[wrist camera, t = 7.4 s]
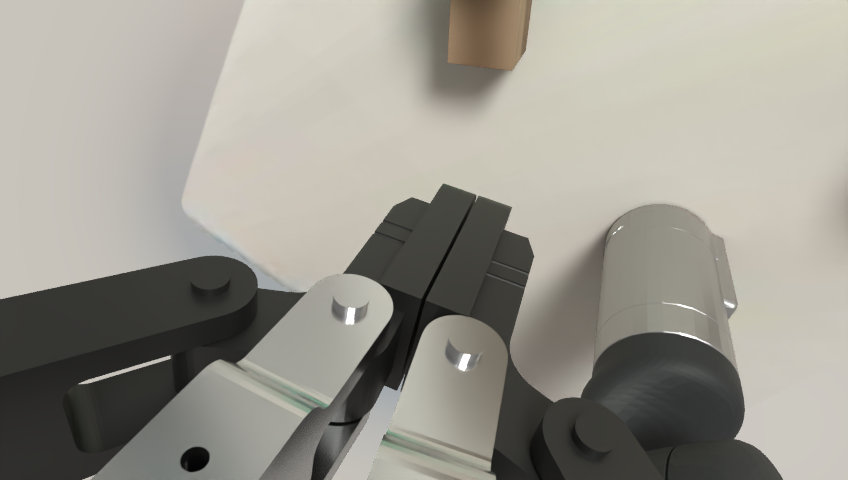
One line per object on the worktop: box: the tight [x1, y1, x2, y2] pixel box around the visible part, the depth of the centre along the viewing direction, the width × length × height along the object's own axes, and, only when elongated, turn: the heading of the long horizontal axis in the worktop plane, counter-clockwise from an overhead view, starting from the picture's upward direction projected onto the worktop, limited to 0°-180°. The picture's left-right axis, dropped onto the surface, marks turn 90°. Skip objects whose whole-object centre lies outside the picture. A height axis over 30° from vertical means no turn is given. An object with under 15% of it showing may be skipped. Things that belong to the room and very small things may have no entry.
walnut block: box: [447, 0, 532, 71], centre depth 42 cm, size 5×5×6 cm
